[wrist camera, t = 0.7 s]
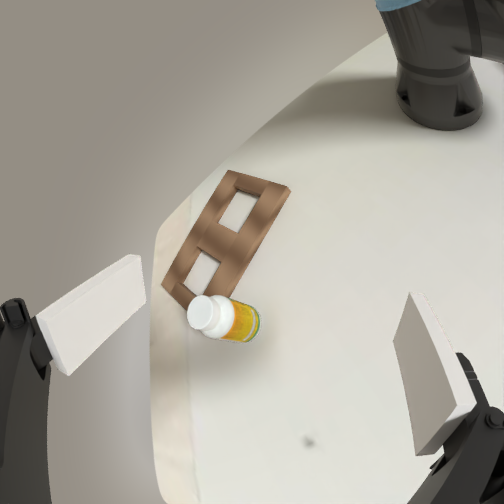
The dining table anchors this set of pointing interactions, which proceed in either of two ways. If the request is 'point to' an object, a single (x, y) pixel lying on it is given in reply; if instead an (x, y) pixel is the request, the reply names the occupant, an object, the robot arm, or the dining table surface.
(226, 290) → the rail
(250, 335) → the supplement bottle
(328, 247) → the dining table surface
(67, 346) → the robot arm
